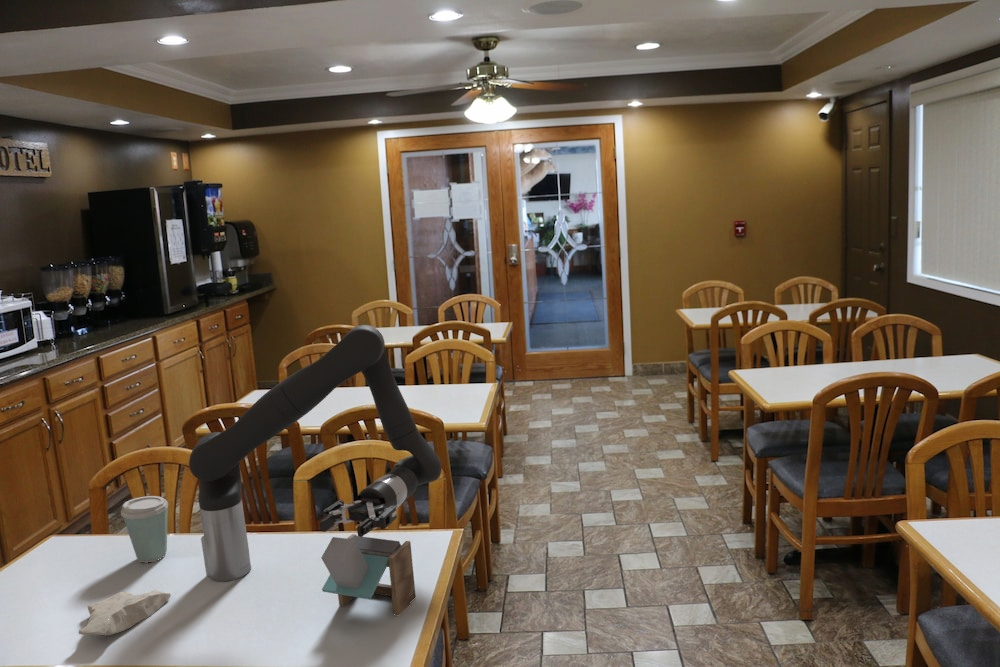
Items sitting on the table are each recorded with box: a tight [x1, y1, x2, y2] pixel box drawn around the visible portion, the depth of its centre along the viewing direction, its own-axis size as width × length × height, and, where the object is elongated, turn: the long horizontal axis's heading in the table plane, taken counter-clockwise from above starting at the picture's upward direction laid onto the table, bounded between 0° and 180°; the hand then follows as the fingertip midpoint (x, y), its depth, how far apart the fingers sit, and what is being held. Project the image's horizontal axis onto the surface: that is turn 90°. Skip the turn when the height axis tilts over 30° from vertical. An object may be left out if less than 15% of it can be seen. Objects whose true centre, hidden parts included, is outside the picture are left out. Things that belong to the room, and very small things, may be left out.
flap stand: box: [337, 533, 417, 616], centre depth 166 cm, size 8×14×13 cm, turn 68°
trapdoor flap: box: [321, 535, 402, 600], centre depth 163 cm, size 14×11×6 cm
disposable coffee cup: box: [120, 495, 169, 564], centre depth 194 cm, size 11×11×15 cm
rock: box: [78, 589, 172, 636], centre depth 167 cm, size 21×5×15 cm
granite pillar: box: [321, 536, 369, 589], centre depth 156 cm, size 5×5×9 cm
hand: (340, 529), depth 154 cm, fingers open, 8 cm apart
